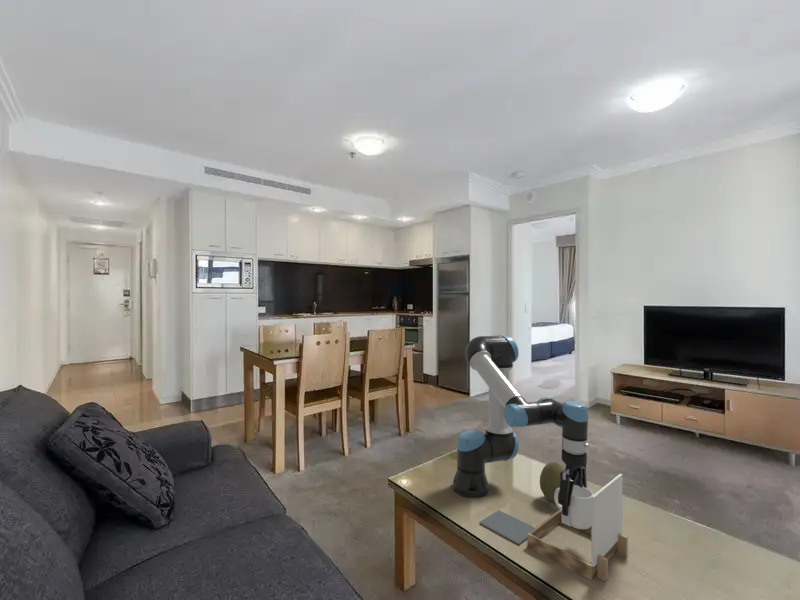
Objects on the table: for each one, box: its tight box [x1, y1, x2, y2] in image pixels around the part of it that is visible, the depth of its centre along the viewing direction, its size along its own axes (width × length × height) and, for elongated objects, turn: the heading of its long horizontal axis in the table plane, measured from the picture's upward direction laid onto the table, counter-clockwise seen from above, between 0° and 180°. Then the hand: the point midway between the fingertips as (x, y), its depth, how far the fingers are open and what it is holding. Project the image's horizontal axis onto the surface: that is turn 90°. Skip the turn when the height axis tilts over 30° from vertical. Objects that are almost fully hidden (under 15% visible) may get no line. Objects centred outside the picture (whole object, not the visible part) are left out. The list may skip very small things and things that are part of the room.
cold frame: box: [526, 509, 618, 581], centre depth 124 cm, size 20×23×4 cm
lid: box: [590, 473, 629, 582], centre depth 116 cm, size 3×22×24 cm, turn 131°
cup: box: [554, 485, 594, 530], centre depth 125 cm, size 8×12×10 cm
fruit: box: [539, 461, 565, 503], centre depth 153 cm, size 11×11×15 cm
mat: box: [478, 509, 536, 546], centre depth 135 cm, size 16×12×1 cm
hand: (572, 518), depth 125 cm, fingers closed on cup, 8 cm apart
